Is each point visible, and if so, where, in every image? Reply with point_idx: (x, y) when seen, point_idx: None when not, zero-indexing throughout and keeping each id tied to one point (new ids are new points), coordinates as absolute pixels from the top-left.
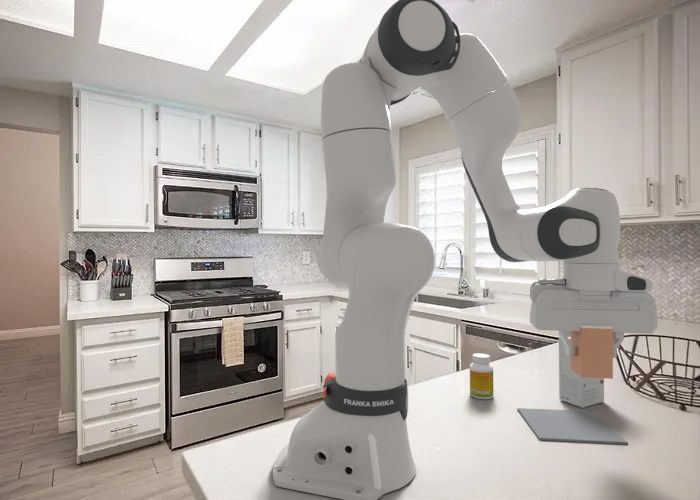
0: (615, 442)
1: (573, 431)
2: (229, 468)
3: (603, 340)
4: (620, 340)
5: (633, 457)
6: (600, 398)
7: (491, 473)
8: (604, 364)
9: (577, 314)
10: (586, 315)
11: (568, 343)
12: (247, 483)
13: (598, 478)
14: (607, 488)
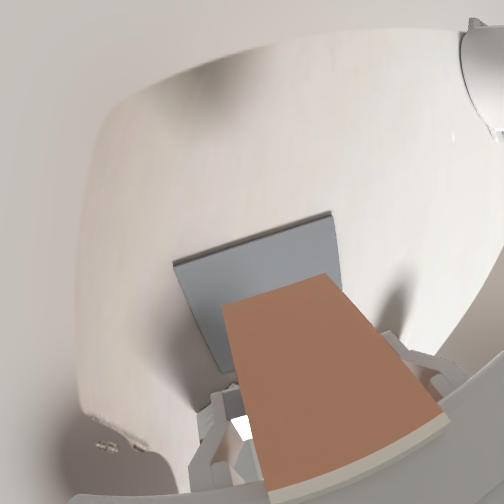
0: (195, 259)
1: (267, 273)
2: None
3: (302, 414)
4: (203, 458)
5: (171, 211)
6: (202, 415)
7: (400, 75)
8: (262, 328)
9: (485, 464)
10: (441, 493)
11: (419, 357)
12: None
13: (251, 96)
14: (243, 67)
